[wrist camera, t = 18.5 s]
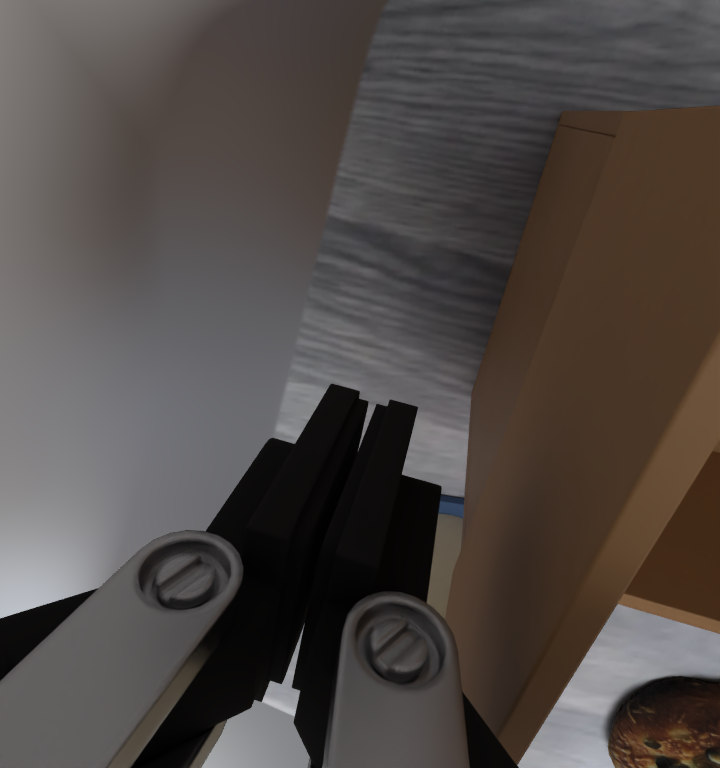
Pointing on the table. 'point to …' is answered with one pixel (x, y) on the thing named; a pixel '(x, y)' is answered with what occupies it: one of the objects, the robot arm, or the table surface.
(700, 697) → the bread roll
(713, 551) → the carton
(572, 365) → the flap
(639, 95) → the table surface
